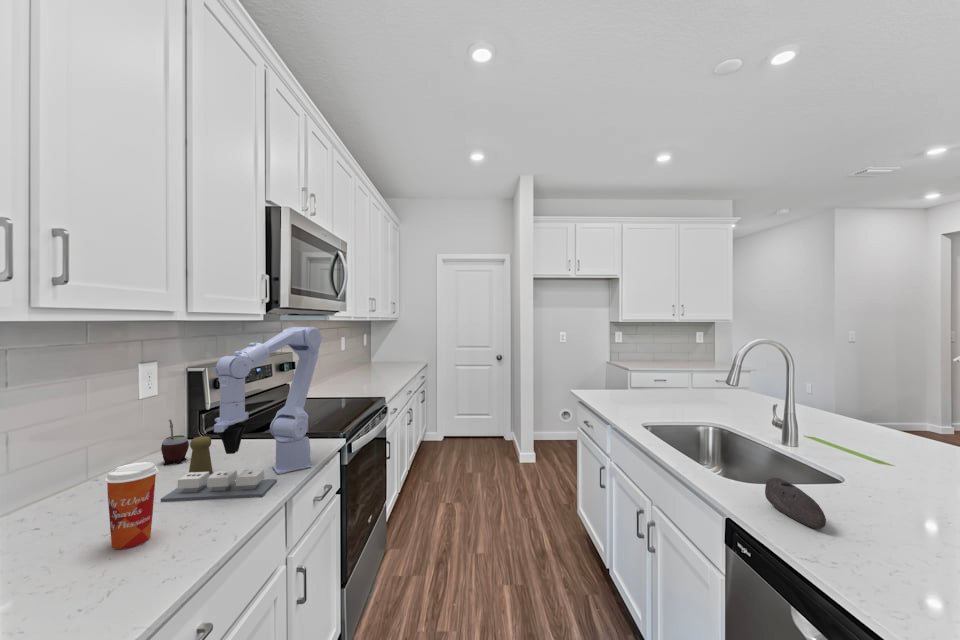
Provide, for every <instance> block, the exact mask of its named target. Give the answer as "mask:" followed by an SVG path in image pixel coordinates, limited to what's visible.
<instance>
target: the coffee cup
mask: <svg viewBox="0 0 960 640" xmlns="http://www.w3.org/2000/svg"><path fill="white" fill-rule="evenodd" d="M159 471H160V470H159V469H158V468H157V466H156V465H155V463H153V462H151V461H149V462H147V461H145V462H144V461H143V462H135V463H134V462H133V463H129V464H125V465H120V466H117V467H115V468H113V469H112V470H111V471H109V472H108V473H107V476H106V478H105V479H104V482H105V483H107V484H106V485H107V488H106V489H107V501H108V502H107V504H108V515H109V516H108V517H109V529H110V531H109V532H110V541H111V543H110V544H111V547H112V549H113V550H116V551H117V550H121V551H122V550H129V549H131V548H135V547H138V546H141V545H143V544H144V543H146V542H147V541H149V540H150V538H151V533H152V525H153V513H154V503H155V502H154V501H155V487H156V475H157V474H158V473H159Z"/></svg>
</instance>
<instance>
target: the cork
mask: <svg viewBox="0 0 960 640" xmlns="http://www.w3.org/2000/svg"><path fill="white" fill-rule="evenodd" d="M210 446H212V438H211V437H210V436H206V435H204V436H201V435H200V436H196V437H194V438H193V439H191V440H190V443H189V447H190V449H191V450H192V451H191V457H190V462H189V468H188V469H189V470H188V473H189V472H209V476H211V475H213V474H214V473H213V472H214V471H213V465H212V457H211V452H210Z"/></svg>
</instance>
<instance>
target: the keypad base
mask: <svg viewBox="0 0 960 640" xmlns="http://www.w3.org/2000/svg"><path fill="white" fill-rule="evenodd" d="M277 482H278V478H270V479H267V478H266V479H264V478H263V479H262V480H261V481H260V482H259V483H258V484H257V485H245V486H236V480H235V481H234V482H232V483H231V484H230V485H229V486H224V487H207V482H206V483H205V484H203V485H202V486H200V487H199V488H180V489H178V487H176V488H175V489H173V490H172V491H170V492H169V493H167V494H166V495H164V496H163V497H161V498H160V503H165V502H166V503H167V502H186V501H187V502H188V501H209V500H210V501H211V500H228V499H246V498H247V499H248V498H251V499H252V498H262V497H264V496H265V495H266V494H267V493H268V492H269V491H270V490H271V489H272V488H273V487H274V486H275V484H276V483H277Z"/></svg>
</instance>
